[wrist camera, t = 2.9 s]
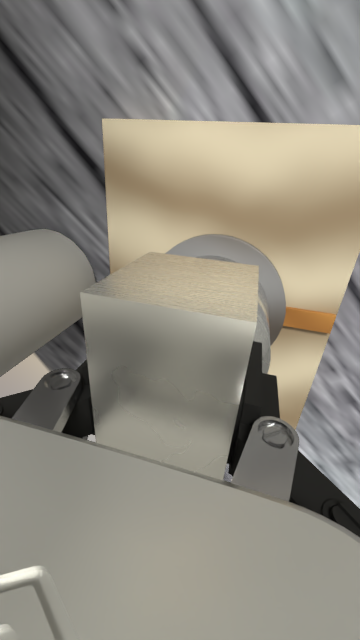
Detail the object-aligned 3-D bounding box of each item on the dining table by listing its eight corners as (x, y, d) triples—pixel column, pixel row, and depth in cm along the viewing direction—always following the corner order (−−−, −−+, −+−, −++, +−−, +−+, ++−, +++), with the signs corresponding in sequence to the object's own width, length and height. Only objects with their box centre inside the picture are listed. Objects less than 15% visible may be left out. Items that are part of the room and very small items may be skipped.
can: (59, 206, 20) (-163, 228, 9) (120, 292, 22) (-12, 391, 11) (5, 258, 23) (-205, 316, 13) (61, 329, 25) (-82, 431, 15)
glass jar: (159, 231, 16) (36, 285, 7) (284, 245, 14) (320, 333, 6) (155, 372, 20) (77, 508, 12) (250, 393, 19) (240, 566, 10)
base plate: (114, 123, 17) (92, 114, 14) (390, 132, 14) (415, 121, 11) (123, 382, 26) (111, 400, 24) (291, 422, 23) (294, 447, 20)
